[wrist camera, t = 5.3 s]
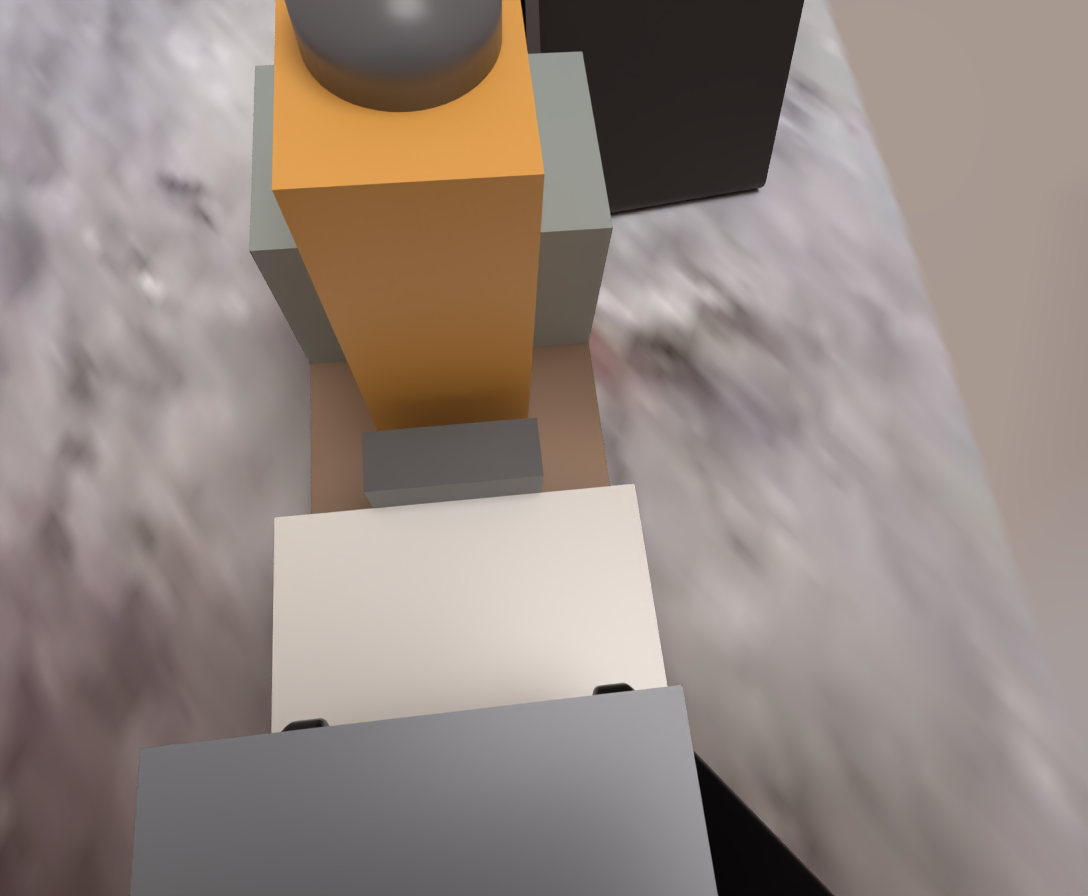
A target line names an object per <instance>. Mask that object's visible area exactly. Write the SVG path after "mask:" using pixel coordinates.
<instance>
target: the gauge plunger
mask: <svg viewBox="0 0 1088 896" xmlns="http://www.w3.org/2000/svg"><path fill="white" fill-rule="evenodd" d="M544 176H545V173H544V166H543V159H542V152H541V144H540V137H539V130H538V123H537V116H536V109H535V101H534V94H533V87H532V80H531V73H530V65H529V58H528V51H527V44H526V37H525V30H524V22H523V15H522V8H521V1H520V0H276V9H275V59H274V110H273V160H272V191H273V194H274V196H275V198H276V200H277V203H278V205H279V207H280V209H281V212H282V214H283V216H284V219H285V221H286V223H287V225H288V228H289V230H290V232H291V235H292V237H293V239H294V241H295V244H296V246H297V248H298V251H299V253H300V255H301V257H302V260H303V262H304V264H305V266H306V269H307V271H308V273H309V276H310V278H311V280H312V282H313V285H314V287H315V289H316V292H317V294H318V296H319V298H320V301H321V303H322V305H323V307H324V310H325V312H326V314H327V317H328V319H329V321H330V323H331V326H332V328H333V330H334V333H335V335H336V337H337V339H338V342H339V344H340V346H341V349H342V351H343V353H344V355H345V358H346V360H347V362H348V364H349V367H350V369H351V371H352V374H353V376H354V378H355V380H356V383H357V385H358V387H359V390H360V392H361V394H362V396H363V399H364V401H365V403H366V406H367V408H368V410H369V412H370V415H371V417H372V419H373V421H374V424H375V426H376V428H377V431H384V430H395V429H407V428H419V427H430V426H442V425H454V424H466V423H477V422H489V421H501V420H513V419H524V418H528V412H529V397H530V382H531V368H532V353H533V338H534V323H535V309H536V294H537V279H538V265H539V250H540V235H541V220H542V206H543V191H544Z"/></svg>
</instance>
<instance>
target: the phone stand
mask: <svg viewBox="0 0 1088 896" xmlns="http://www.w3.org/2000/svg"><path fill="white" fill-rule="evenodd" d="M520 1H521V8H522V15H523V22H524V30H525V37H526V44H527V51H528V54H537V53H560V52H582V53H583V59H584V65H585V71H586V76H587V82H588V88H589V94H590V99H591V105H592V111H593V117H594V122H595V128H596V134H597V140H598V145H599V151H600V157H601V163H602V168H603V174H604V180H605V186H606V192H607V197H608V203H609V209H610V213H613V212H619V211H625V210H631V209H637V208H643V207H649V206H654V205H660V204H666V203H672V202H678V201H684V200H690V199H696V198H702V197H708V196H714V195H719V194H725V193H731V192H737V191H743V190H749V189H755V188H761V187H763V186H764V184H765V182H766V178H767V173H768V169H769V164H770V159H771V154H772V150H773V145H774V140H775V136H776V131H777V126H778V121H779V117H780V112H781V107H782V103H783V98H784V93H785V88H786V84H787V79H788V74H789V70H790V65H791V60H792V55H793V51H794V46H795V41H796V37H797V32H798V27H799V22H800V18H801V13H802V8H803V4H804V0H520Z"/></svg>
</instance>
